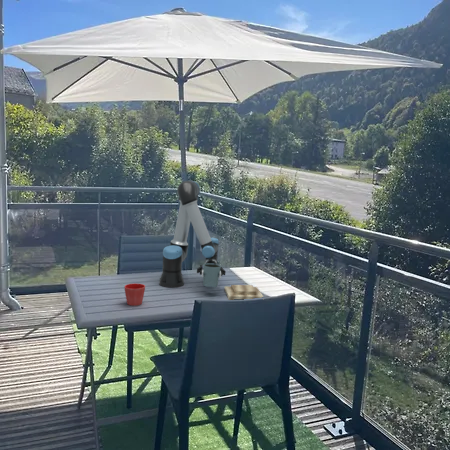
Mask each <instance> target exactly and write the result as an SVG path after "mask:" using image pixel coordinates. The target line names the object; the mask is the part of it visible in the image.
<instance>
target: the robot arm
mask: <svg viewBox="0 0 450 450" xmlns="http://www.w3.org/2000/svg"><path fill="white" fill-rule="evenodd" d="M176 192H177V196H178V201H179V202H180V204H179V209H178V213H177V218H176V223H175V229H174V235H173V239H172V240H170V243H169V246H168V245H167V246H165V247H164V248H163V250H162V271H161V275H160V277H159V283H158V284H159V286H161V287H164V288H179V287H183V286H184V283H185V282H184V276H183V273H182V265H183V262H184V261H186V259H187V258H188V254H189V250H188V249H189V243H188V236H189V231H190V225H191V226H192V227H193V231H194V233H195V235H196V238H197V240H198V243H199V245H200V248H201V254H202V256H203V257H204V258H205V259H204V264H206V263H213V264H218V263H217V262H218V253H219V252H218V251H219V242H220V241H219V239H218V238H216V237H211V235H210V233H209V230H208V228H207V224H206V223H205V220H204V218H203V215H202V213H201V209H200V208H199V205H198V196H199V195H200V192H201V187H200V185H199V183H198V182H196V181H194V180H192V179H189V180H184V181H182V182H181V183H180V184H179V185H178V187H177V191H176ZM196 273H197V274H199V276H201V277H202V278H203V264H201V265H199V266H198V267H197V268H196ZM223 276H226V270H225V269H224V267H223V266H221V268H220V273H219V279H221V278H222V277H223Z"/></svg>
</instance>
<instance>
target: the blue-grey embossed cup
mask: <svg viewBox="0 0 450 450" xmlns="http://www.w3.org/2000/svg"><path fill="white" fill-rule="evenodd" d="M202 266H203V277H202V285H203V286H204V287H206V288H217V287H218V284H219V280H220V278H219V273H220V268H221V267H222V266H221V265H220V264H218V263H217V264H213V263H206V264H205V263H203V264H202Z"/></svg>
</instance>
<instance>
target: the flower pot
mask: <svg viewBox="0 0 450 450" xmlns="http://www.w3.org/2000/svg"><path fill="white" fill-rule="evenodd" d="M145 291H146V285H145V284H143V283H128V284H125V285H124V295H125V299H126V303H127V305H128V306H135V307H136V306H140V305H142V304H143V300H144V295H145Z"/></svg>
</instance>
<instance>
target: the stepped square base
mask: <svg viewBox="0 0 450 450" xmlns="http://www.w3.org/2000/svg"><path fill="white" fill-rule="evenodd" d="M223 288H224V292H225V295H226V296H227V299H228V300H229V301H235V300H234V299H253V298H262V297H264V295H263V294H262V292H261V290H259V288H258V287H257V286H254V285H251V284H231V285H229V286H224V287H223Z"/></svg>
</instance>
